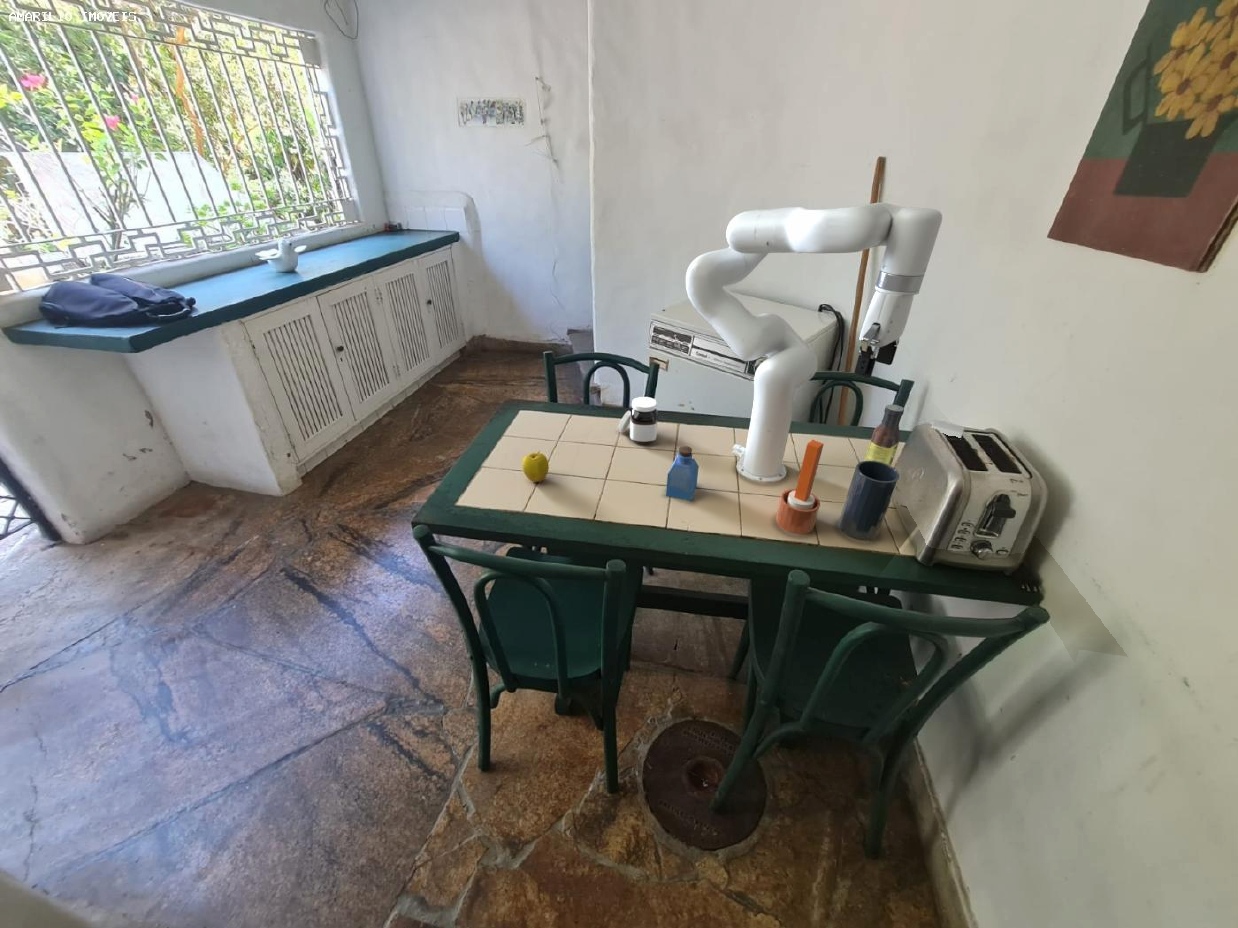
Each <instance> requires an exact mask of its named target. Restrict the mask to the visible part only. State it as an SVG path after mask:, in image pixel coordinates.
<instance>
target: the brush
mask: <svg viewBox="0 0 1238 928" xmlns="http://www.w3.org/2000/svg"><path fill="white" fill-rule="evenodd" d="M824 445H825V444H824V443H823V442H820V441H817V440H815V439H812V440H810V441H808V443H806V447H805V451H804V455H803V460H802V463H801V468H800V472H799V476H798V479H797V484H796V488H795V489H796V490H795V491H792V492H790V493H789V496H788V501H787V504H788V505H789V506H791V507H793V508H796V509H799V510H812V508H813V505H814V501H815V499H814V497H813V496H812V495H811V494H810V493H812V489H813V487H814V481H815V478H816V474H817V470H818V468H819V467H818V466H819V463H820V459H821V456H822V452H823V448H824Z"/></svg>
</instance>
